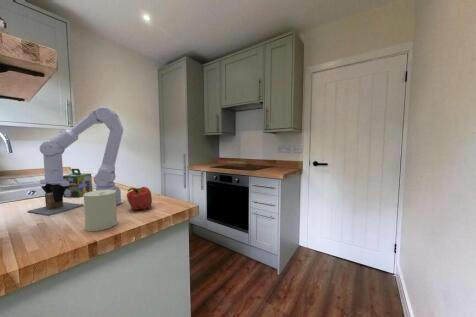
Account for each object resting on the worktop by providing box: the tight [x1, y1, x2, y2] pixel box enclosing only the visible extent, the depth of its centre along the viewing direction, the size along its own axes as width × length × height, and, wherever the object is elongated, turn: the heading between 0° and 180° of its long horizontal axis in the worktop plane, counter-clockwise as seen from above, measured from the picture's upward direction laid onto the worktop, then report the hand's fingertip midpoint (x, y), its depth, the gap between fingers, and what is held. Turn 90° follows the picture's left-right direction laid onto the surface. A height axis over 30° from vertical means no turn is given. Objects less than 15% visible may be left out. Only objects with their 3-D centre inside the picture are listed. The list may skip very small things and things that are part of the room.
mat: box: [26, 201, 84, 217], centre depth 84 cm, size 13×13×1 cm
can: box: [82, 190, 118, 232], centre depth 67 cm, size 9×9×12 cm
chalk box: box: [63, 168, 94, 198], centre depth 106 cm, size 9×9×15 cm
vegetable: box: [126, 186, 153, 211], centre depth 84 cm, size 11×10×10 cm
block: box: [44, 192, 64, 209], centre depth 83 cm, size 3×4×6 cm, turn 163°
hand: (55, 201), depth 84 cm, fingers closed on block, 3 cm apart
